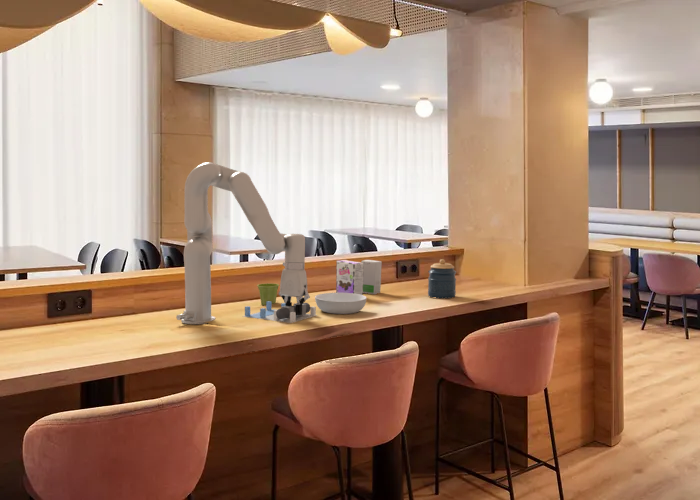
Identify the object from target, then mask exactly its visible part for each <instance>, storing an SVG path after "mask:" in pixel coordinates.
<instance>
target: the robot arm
mask: <svg viewBox="0 0 700 500" xmlns="http://www.w3.org/2000/svg"><path fill="white" fill-rule="evenodd" d="M210 186H211V187H215V188H218V189H221V190H224V191H229V192H231V193H232V195H233V197H234V199H236V201H237V204H238V206H240V208H241V210H242V211H243V214H244V215H245V217H246V219H247V221H248V222H249V223H250V225H251V227H252V228H253V230H254V232H255V233H256V236H258V238H259V240H260V242H261V243H262V245H263V247H264V248H265V250H266V251H267V252H268V253H269V254H271V255H278V254H281V253H282V252H284V261H283V262H282V266H284V268H283V269H282V270H281V271H282V272H281V277H280V284H279V291H278V292H277V295H278V296H279V297H281V298H282V300H283V303H286V304H285V306H293V303H292V297H293V298H296V303H297V305H296V315H300V314H302V304H303V303H306V301H307V300H308V299H310V298H311V296H310V294H309V291H308V276H307V275H308V274H307V272H306V270H305V260H306V259H305V258H306V257H305V255H306V238H305V235H304V234H301V233H288V234H287V233H281V232H280V231H279V229H278V227H277V225H276V224H275V223H274V221H273V219H272V217H271V214H270V212H269V209H268V206H267V205H266V203H265V202H264V200H263V198H262V196H261V195H260V193H259V191H258V189H257V187H256V186H255V184H254V182H253V181H252V179H251V177H250V175H248V173H247V172H244V171H239V170H236V169H233V168H229V167H226V166H224V165H223V166H222V165H220V164H218V163H215V162H210V161H208V162H202V163H201V164H199V165H197V166H196V167H194V168H193V169H192V170H191V171H190V173H188V175H187V177H186V179H185V182H184V227H185V229H186V233H187V234H186V235H187V236H186V237H187V241H186V244H184V245H185V246H184V249H183V262H184V263H183V264H184V265H183V267H184V292H185V295H184V296H185V297H184V298H185V299H184V300H185V301H184V303H185V304H184V306H185V310H183V312H182V313H181V314H177V315H176V320H178V321H180V320H181V321H180V322H181V323H182V324H186V325H187V324H188V325H207V324H208V323H209V322H212V321H215V320H216V316H213V315H212V281H211V280H212V276H211V275H212V273H211V269H212V268H211V254H212V253H213V220H212V217H211V214H210V213H209V198H208V197H209V195H208V190H209V188H210Z"/></svg>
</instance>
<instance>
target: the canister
mask: <svg viewBox="0 0 700 500" xmlns="http://www.w3.org/2000/svg"><path fill="white" fill-rule="evenodd" d="M456 273H457V271H456V270H455V266H454V265H453V264H452V263H448V262H446V260H445V259H444V258H442V259H441V258H440V259H439V262H436V263H433V264H431V265H430V269H429V270H428V274H429V276H428V277H427V279H428V281H427V282H428V286H427V295H428V297H429V296H430V297H429V298H432V297H436V298H435V299H444V298H445V299H453V298H452V297H454V298H455V297H456V294H457V292H456V290H457V289H456V286H457V284H456V283H457V282H456V281H457V277H456Z"/></svg>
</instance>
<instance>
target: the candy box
mask: <svg viewBox="0 0 700 500" xmlns="http://www.w3.org/2000/svg"><path fill="white" fill-rule="evenodd" d="M335 267H336V277H335V279H336V280H335V281H336V282H335V283H336V284H335V285H336V287H335V291H336V292H335V293H354V294H360V295H363V294H364V293H363V263H361V262H360V261H353V260H347V259H342V260H336V265H335Z"/></svg>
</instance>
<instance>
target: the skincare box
mask: <svg viewBox="0 0 700 500" xmlns="http://www.w3.org/2000/svg"><path fill="white" fill-rule="evenodd" d="M360 263H363V294H367V293H368V294H370V295H377V293H378V294H380V293H381V287H382V263H383V262H382V261H381V260H373V259H364V260H361V262H360Z"/></svg>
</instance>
